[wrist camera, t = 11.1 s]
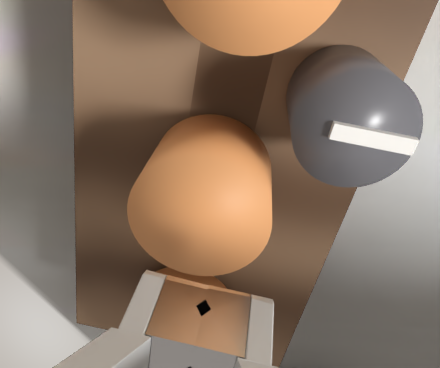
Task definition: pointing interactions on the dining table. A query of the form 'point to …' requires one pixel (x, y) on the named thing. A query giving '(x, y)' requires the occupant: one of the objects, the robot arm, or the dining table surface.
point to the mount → (200, 105)
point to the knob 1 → (251, 22)
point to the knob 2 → (204, 197)
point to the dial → (351, 117)
